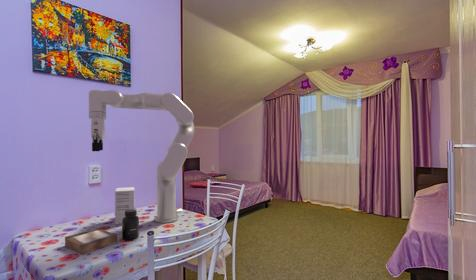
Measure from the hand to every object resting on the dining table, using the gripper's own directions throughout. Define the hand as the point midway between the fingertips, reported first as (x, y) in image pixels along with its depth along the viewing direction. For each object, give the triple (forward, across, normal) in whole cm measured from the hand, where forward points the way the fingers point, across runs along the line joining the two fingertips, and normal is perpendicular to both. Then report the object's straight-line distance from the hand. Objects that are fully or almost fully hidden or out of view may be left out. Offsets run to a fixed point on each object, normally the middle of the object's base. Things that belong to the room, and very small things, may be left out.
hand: (97, 150), depth 127 cm
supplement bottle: (+38, -21, -16) cm, 46 cm away
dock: (+37, -23, -1) cm, 44 cm away
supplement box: (+38, +5, -12) cm, 40 cm away
